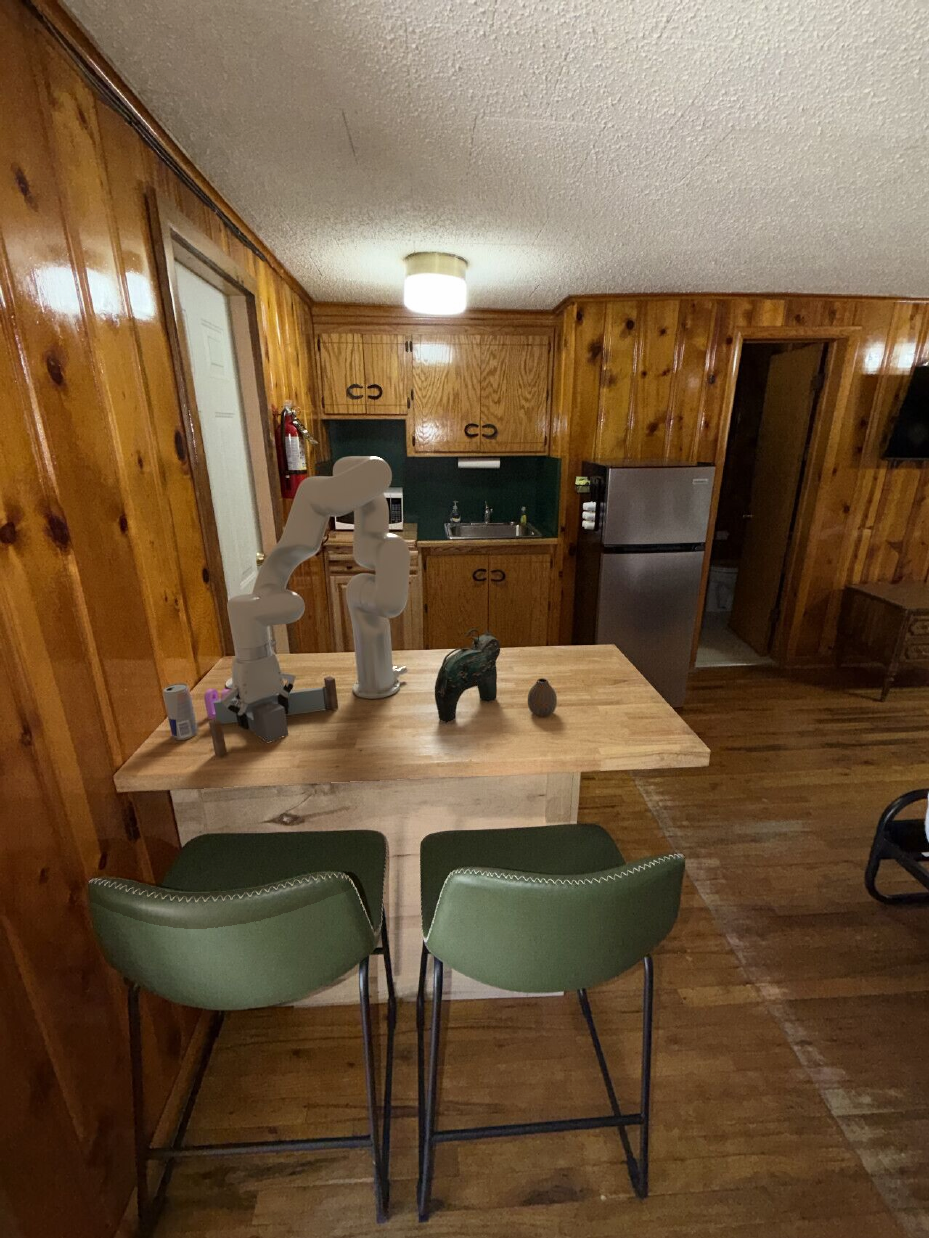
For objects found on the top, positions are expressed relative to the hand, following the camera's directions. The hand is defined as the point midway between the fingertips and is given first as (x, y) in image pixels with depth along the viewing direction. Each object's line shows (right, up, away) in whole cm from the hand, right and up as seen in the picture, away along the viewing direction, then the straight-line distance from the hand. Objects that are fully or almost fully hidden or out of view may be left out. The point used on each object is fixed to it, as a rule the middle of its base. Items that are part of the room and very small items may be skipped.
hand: (264, 719), depth 124 cm
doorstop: (0, -3, +2) cm, 3 cm away
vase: (+65, 0, +5) cm, 65 cm away
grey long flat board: (0, -1, +8) cm, 8 cm away
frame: (+3, -3, +2) cm, 4 cm away
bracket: (-14, +1, +14) cm, 20 cm away
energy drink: (-19, -4, +1) cm, 19 cm away
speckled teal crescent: (+47, +1, +9) cm, 48 cm away
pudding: (-15, +5, +29) cm, 33 cm away
